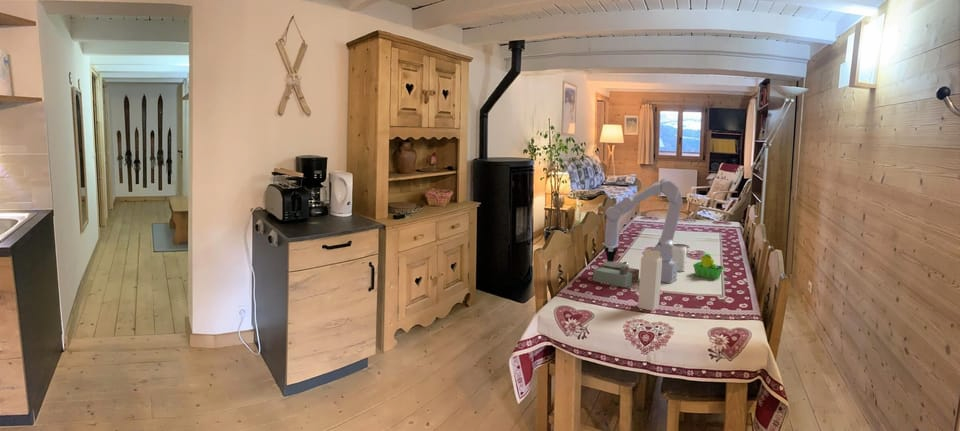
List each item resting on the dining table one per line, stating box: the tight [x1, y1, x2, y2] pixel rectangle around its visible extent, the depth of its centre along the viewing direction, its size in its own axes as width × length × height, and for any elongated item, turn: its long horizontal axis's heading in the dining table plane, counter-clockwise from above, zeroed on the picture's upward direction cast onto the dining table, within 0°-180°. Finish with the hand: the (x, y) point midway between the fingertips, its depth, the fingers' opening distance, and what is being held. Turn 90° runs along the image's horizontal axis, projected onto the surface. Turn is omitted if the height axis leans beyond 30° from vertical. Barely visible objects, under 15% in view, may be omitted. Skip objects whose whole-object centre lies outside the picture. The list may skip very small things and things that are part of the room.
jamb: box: [600, 264, 640, 285], centre depth 244 cm, size 15×6×5 cm, turn 51°
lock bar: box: [602, 259, 630, 268], centre depth 244 cm, size 11×3×3 cm, turn 61°
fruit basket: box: [692, 253, 725, 280], centre depth 249 cm, size 11×9×11 cm
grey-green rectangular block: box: [592, 266, 633, 288], centre depth 239 cm, size 15×6×7 cm, turn 51°
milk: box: [637, 249, 662, 312], centre depth 207 cm, size 6×6×22 cm
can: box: [671, 243, 687, 273], centre depth 259 cm, size 6×6×12 cm
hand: (610, 263), depth 247 cm, fingers closed
